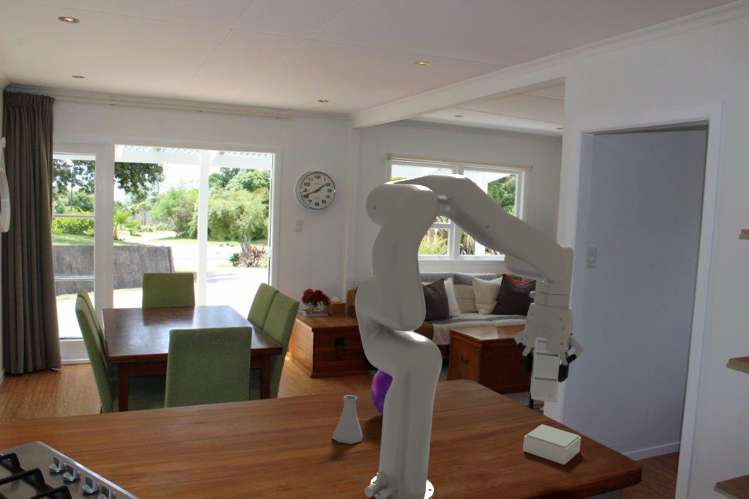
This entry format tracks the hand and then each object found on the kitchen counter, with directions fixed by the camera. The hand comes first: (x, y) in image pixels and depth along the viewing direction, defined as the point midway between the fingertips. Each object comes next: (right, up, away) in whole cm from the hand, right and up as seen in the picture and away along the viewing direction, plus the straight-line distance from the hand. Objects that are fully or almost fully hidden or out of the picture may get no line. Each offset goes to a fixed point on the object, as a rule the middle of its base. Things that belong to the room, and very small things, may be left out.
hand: (544, 376), depth 138 cm
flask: (-45, -16, +5) cm, 48 cm away
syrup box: (0, -5, 0) cm, 5 cm away
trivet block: (+3, -19, +6) cm, 20 cm away
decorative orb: (-33, -15, +20) cm, 41 cm away
